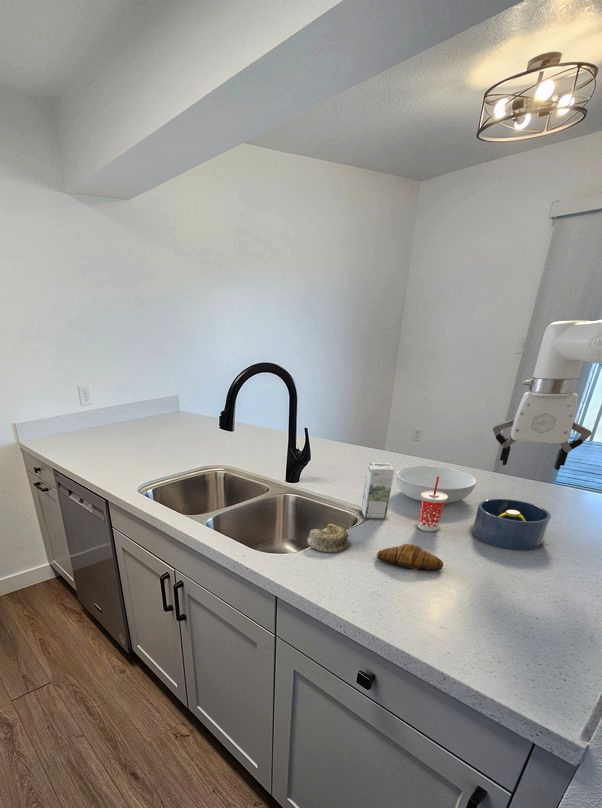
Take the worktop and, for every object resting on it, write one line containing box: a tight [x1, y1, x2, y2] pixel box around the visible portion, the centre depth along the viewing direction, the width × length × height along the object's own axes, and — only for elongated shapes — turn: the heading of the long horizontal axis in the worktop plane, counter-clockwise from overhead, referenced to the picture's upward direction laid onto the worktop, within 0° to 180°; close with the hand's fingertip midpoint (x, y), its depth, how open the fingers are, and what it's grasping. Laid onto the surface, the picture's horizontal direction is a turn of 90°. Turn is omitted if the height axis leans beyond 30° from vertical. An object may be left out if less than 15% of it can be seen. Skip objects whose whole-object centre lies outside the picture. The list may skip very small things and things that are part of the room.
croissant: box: [376, 543, 444, 571], centre depth 96 cm, size 14×7×5 cm, turn 64°
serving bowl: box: [395, 465, 477, 504], centre depth 129 cm, size 21×21×7 cm
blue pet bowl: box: [471, 498, 552, 551], centre depth 105 cm, size 14×14×7 cm
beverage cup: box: [417, 476, 448, 532], centre depth 110 cm, size 6×6×14 cm
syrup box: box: [360, 462, 395, 520], centre depth 118 cm, size 6×6×14 cm
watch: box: [498, 510, 526, 521], centre depth 105 cm, size 6×3×6 cm, turn 56°
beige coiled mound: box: [306, 523, 349, 553], centre depth 107 cm, size 10×10×5 cm
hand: (529, 465), depth 98 cm, fingers open, 9 cm apart
